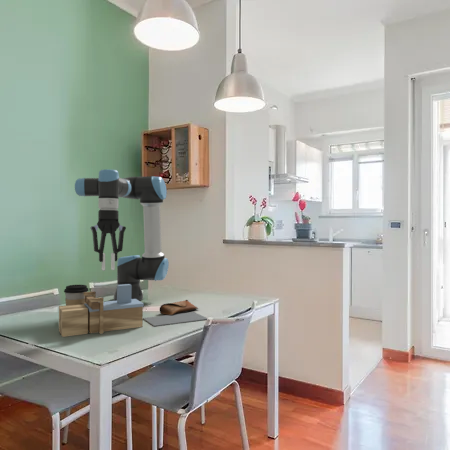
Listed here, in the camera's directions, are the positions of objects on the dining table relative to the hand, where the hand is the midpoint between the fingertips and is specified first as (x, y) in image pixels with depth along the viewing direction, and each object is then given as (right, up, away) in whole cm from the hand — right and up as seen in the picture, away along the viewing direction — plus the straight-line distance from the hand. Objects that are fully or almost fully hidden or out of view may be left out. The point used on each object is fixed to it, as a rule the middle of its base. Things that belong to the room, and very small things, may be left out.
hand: (108, 269), depth 154 cm
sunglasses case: (+25, -22, +28) cm, 44 cm away
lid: (+2, -15, +1) cm, 15 cm away
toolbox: (-2, -23, -1) cm, 23 cm away
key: (-5, -13, -3) cm, 15 cm away
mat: (+25, -23, +14) cm, 36 cm away
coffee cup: (-15, -23, +7) cm, 28 cm away
